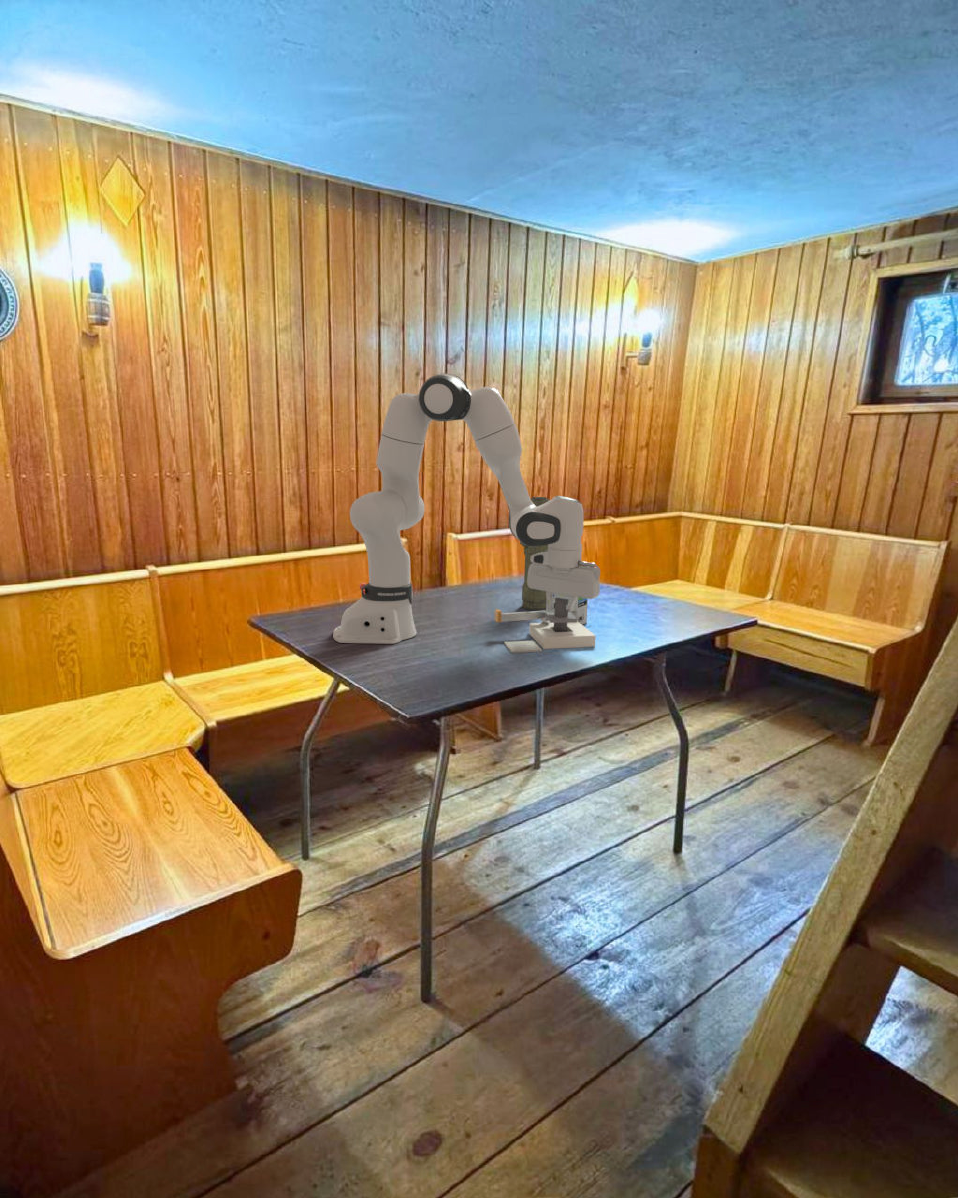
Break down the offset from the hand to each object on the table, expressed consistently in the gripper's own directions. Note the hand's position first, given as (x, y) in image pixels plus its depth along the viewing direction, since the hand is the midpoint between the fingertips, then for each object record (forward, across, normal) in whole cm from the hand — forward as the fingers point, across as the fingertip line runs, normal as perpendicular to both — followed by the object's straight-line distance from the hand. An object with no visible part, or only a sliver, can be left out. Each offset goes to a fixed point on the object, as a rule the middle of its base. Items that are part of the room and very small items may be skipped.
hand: (561, 609), depth 183 cm
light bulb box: (+9, +7, -17) cm, 20 cm away
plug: (+6, 0, 0) cm, 6 cm away
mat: (+8, +4, +12) cm, 15 cm away
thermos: (+9, +24, -27) cm, 37 cm away
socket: (+8, 0, 0) cm, 8 cm away
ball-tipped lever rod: (+5, +10, +3) cm, 12 cm away
